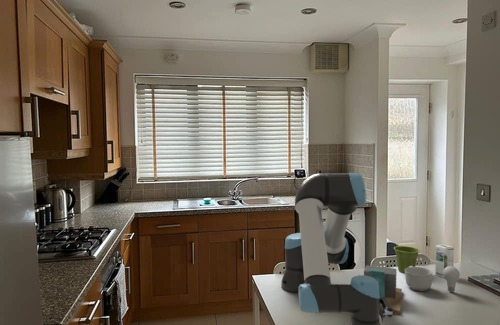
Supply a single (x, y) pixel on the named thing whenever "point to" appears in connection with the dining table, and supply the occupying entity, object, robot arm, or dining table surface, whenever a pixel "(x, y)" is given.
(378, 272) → the teal rectangular block
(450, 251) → the syrup box
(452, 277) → the lightbulb
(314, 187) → the robot arm
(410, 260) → the plant pot
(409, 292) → the dining table surface
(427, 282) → the teacup
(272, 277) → the dining table surface
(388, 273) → the grey rectangular block
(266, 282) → the dining table surface
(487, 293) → the dining table surface
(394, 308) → the base board
